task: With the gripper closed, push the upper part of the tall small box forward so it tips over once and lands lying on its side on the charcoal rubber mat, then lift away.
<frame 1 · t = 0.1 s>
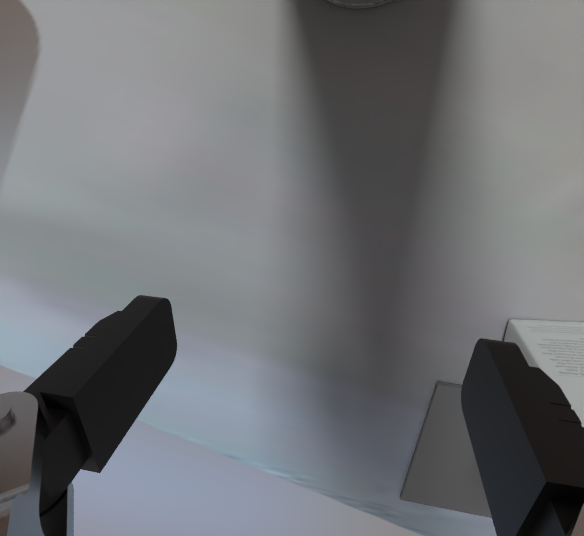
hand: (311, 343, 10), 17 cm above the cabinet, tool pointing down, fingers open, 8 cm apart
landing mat: (491, 459, 36), on the cabinet
small box: (541, 359, 29), on the cabinet, touching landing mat
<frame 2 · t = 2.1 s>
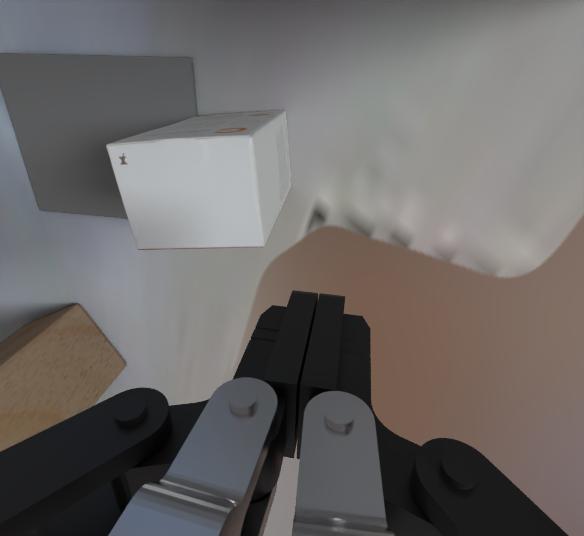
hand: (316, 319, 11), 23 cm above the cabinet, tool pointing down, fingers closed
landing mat: (107, 143, 34), on the cabinet
small box: (244, 152, 32), on the cabinet, touching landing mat
wooden block: (78, 342, 47), on the cabinet
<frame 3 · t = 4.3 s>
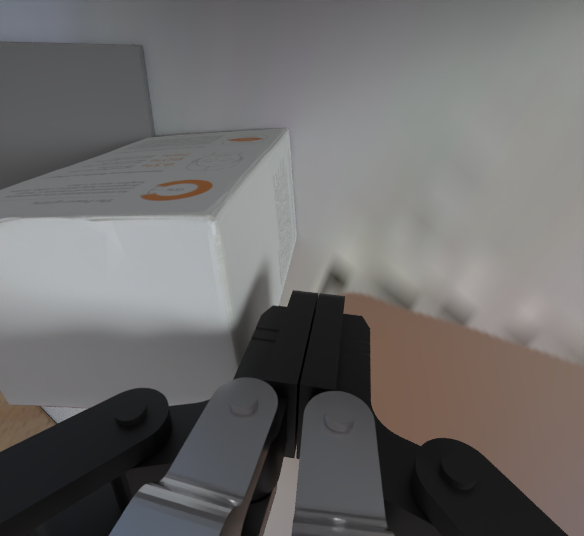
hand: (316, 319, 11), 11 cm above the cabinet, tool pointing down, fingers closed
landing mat: (25, 173, 23), on the cabinet
small box: (226, 189, 21), on the cabinet, touching gripper, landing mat
wooden block: (16, 420, 36), on the cabinet
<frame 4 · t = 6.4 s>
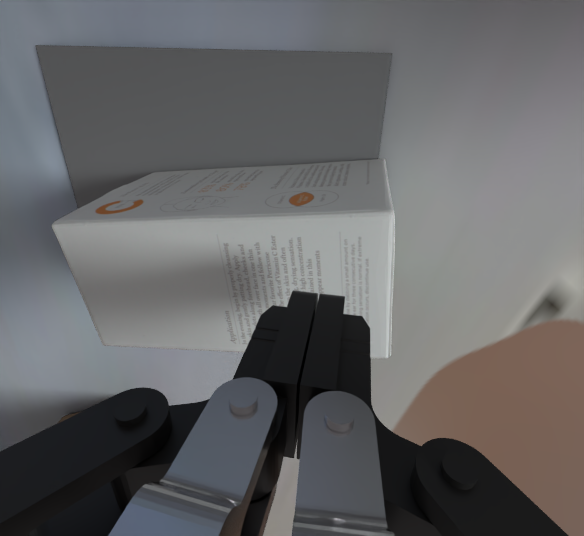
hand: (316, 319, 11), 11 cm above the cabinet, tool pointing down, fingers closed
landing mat: (214, 189, 21), on the cabinet
small box: (393, 248, 16), point 4 cm above the cabinet, touching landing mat
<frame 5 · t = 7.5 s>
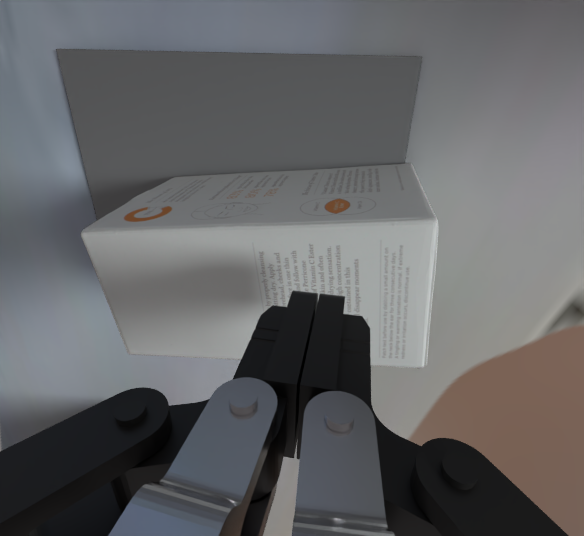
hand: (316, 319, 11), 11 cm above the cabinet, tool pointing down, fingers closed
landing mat: (235, 194, 21), on the cabinet
small box: (425, 254, 16), point 4 cm above the cabinet, touching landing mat
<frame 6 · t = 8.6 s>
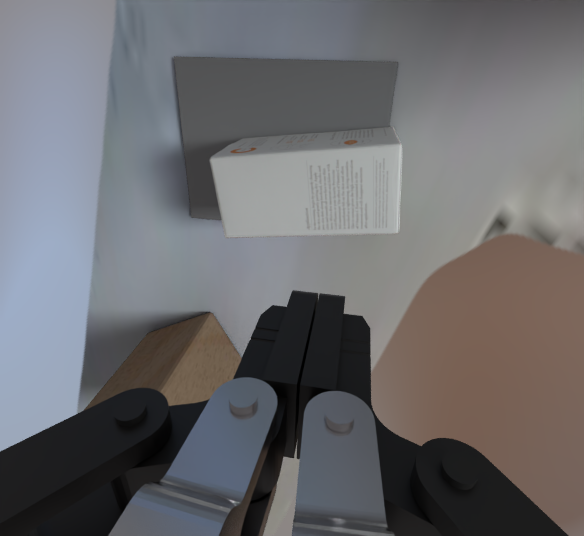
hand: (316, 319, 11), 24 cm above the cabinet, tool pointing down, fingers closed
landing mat: (281, 149, 33), on the cabinet
small box: (399, 177, 28), point 4 cm above the cabinet, touching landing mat
wooden block: (200, 351, 46), on the cabinet
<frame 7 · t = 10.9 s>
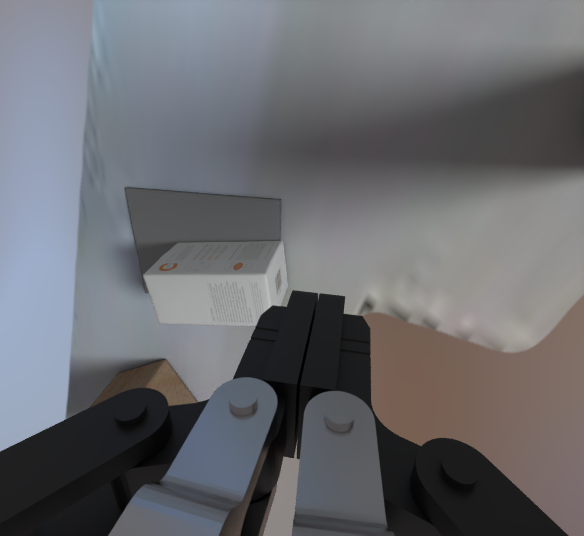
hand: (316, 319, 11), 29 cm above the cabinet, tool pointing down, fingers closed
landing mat: (207, 250, 44), on the cabinet
small box: (281, 282, 39), point 4 cm above the cabinet, touching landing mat
wooden block: (160, 387, 58), on the cabinet
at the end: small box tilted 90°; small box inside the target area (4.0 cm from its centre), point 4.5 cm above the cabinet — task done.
